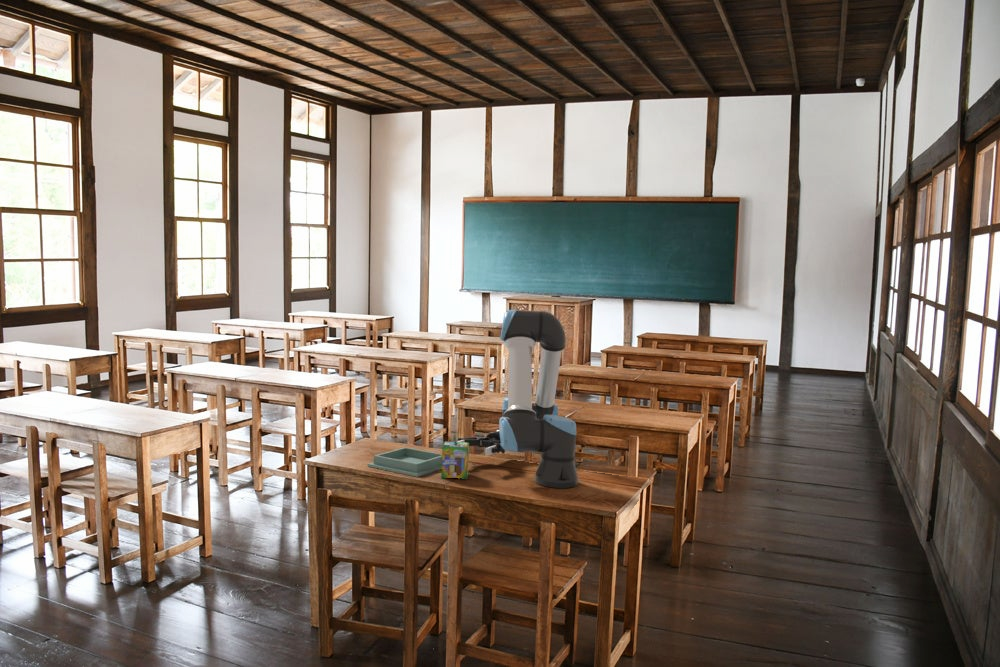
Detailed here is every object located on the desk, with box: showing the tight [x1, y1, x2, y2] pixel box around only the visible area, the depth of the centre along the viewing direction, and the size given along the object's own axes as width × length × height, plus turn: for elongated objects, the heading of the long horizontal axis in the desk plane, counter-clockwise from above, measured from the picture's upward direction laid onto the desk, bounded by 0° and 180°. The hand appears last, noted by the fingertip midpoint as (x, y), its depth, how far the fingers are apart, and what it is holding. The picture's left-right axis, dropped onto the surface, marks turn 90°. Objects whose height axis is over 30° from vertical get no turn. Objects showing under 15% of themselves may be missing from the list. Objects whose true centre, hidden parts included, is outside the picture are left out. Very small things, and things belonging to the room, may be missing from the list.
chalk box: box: [440, 433, 470, 480], centre depth 264 cm, size 9×9×15 cm
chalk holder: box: [367, 446, 442, 478], centre depth 275 cm, size 22×22×4 cm
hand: (469, 449), depth 272 cm, fingers open, 13 cm apart
